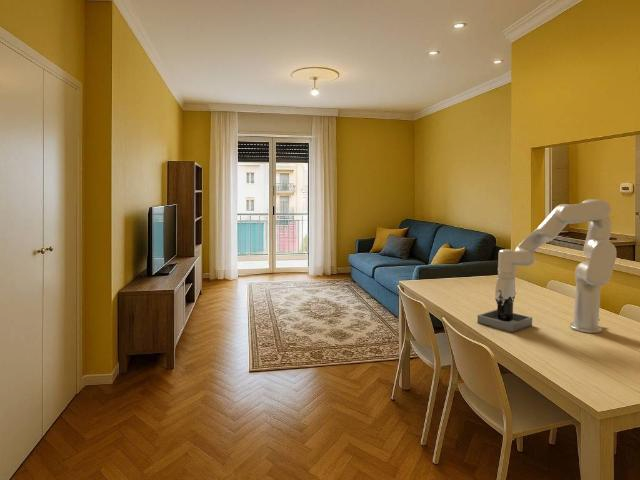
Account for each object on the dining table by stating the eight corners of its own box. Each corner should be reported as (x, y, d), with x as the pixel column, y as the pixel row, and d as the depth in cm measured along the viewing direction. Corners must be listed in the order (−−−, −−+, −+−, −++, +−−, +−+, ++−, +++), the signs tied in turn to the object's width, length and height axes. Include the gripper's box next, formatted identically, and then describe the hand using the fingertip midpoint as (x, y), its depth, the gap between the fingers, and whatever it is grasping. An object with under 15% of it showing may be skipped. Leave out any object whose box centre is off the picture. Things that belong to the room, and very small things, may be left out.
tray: (497, 316, 208) (497, 308, 207) (532, 325, 193) (532, 317, 193) (477, 323, 198) (477, 315, 198) (512, 333, 183) (512, 324, 183)
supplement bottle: (499, 316, 200) (499, 293, 199) (514, 318, 196) (514, 294, 195) (495, 320, 195) (496, 296, 193) (511, 322, 191) (512, 298, 189)
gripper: (509, 271, 201) (507, 306, 203) (488, 276, 191) (487, 312, 193) (523, 274, 194) (522, 309, 197) (503, 279, 185) (502, 316, 187)
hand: (505, 311), depth 195 cm, fingers closed on supplement bottle, 6 cm apart
